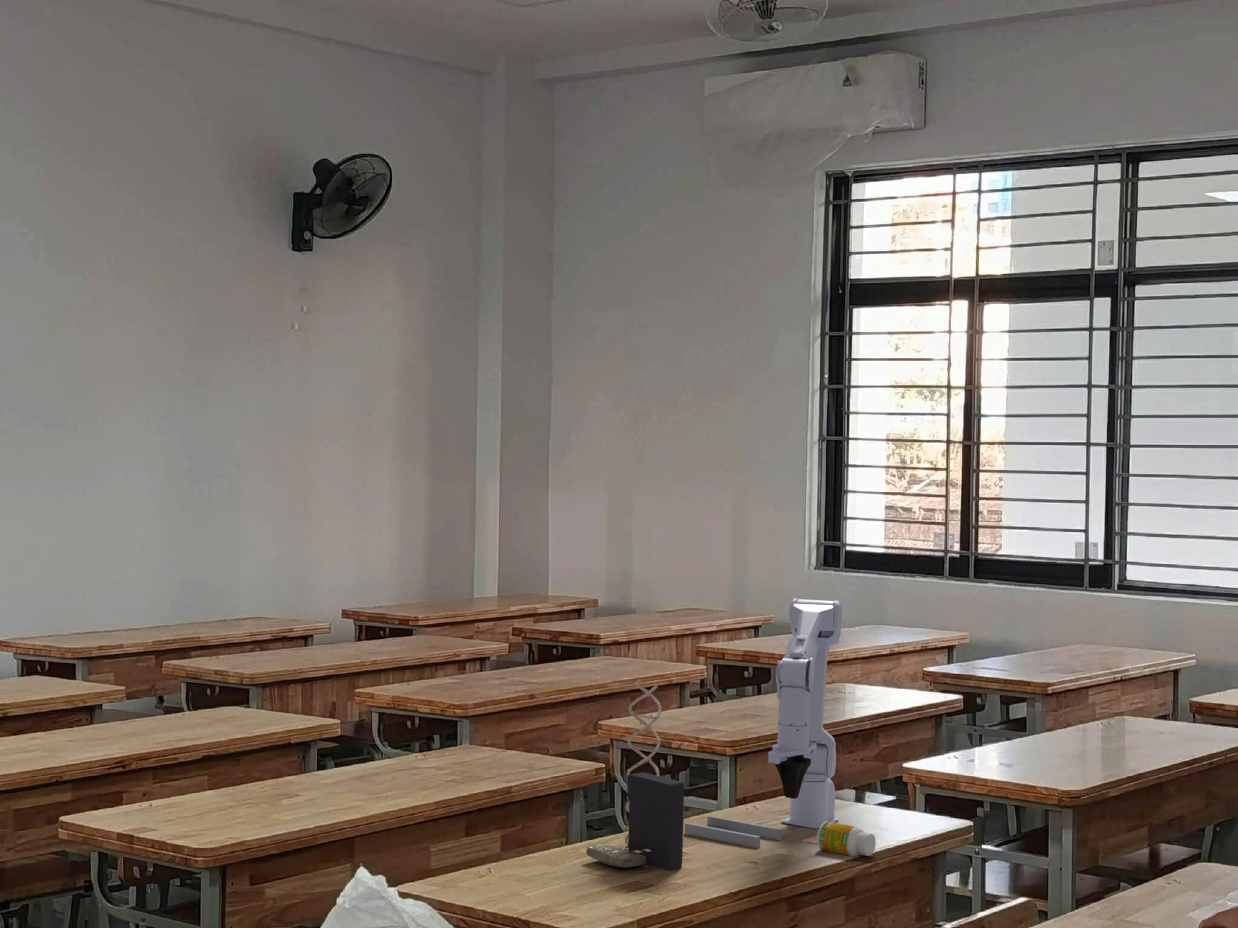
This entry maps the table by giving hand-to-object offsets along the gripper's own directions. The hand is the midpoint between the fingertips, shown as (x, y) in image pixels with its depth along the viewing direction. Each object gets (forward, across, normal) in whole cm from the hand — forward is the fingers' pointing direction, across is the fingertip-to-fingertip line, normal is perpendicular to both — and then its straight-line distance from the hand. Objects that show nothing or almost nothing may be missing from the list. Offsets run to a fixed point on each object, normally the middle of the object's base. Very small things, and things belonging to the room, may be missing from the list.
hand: (791, 797), depth 286 cm
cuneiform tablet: (+8, +33, -10) cm, 35 cm away
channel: (+9, 0, -12) cm, 16 cm away
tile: (+9, -10, +4) cm, 15 cm away
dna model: (+10, +19, -20) cm, 29 cm away
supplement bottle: (+7, -3, +5) cm, 9 cm away
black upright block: (+10, +26, -12) cm, 30 cm away
